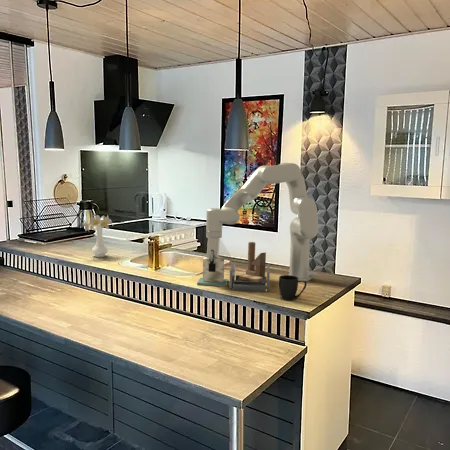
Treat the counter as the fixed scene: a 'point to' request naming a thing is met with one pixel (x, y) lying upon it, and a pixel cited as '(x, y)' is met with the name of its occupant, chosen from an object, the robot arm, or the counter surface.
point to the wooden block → (255, 261)
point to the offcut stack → (249, 278)
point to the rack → (248, 282)
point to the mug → (289, 287)
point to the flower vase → (99, 234)
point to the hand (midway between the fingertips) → (213, 269)
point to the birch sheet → (213, 276)
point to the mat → (212, 283)
